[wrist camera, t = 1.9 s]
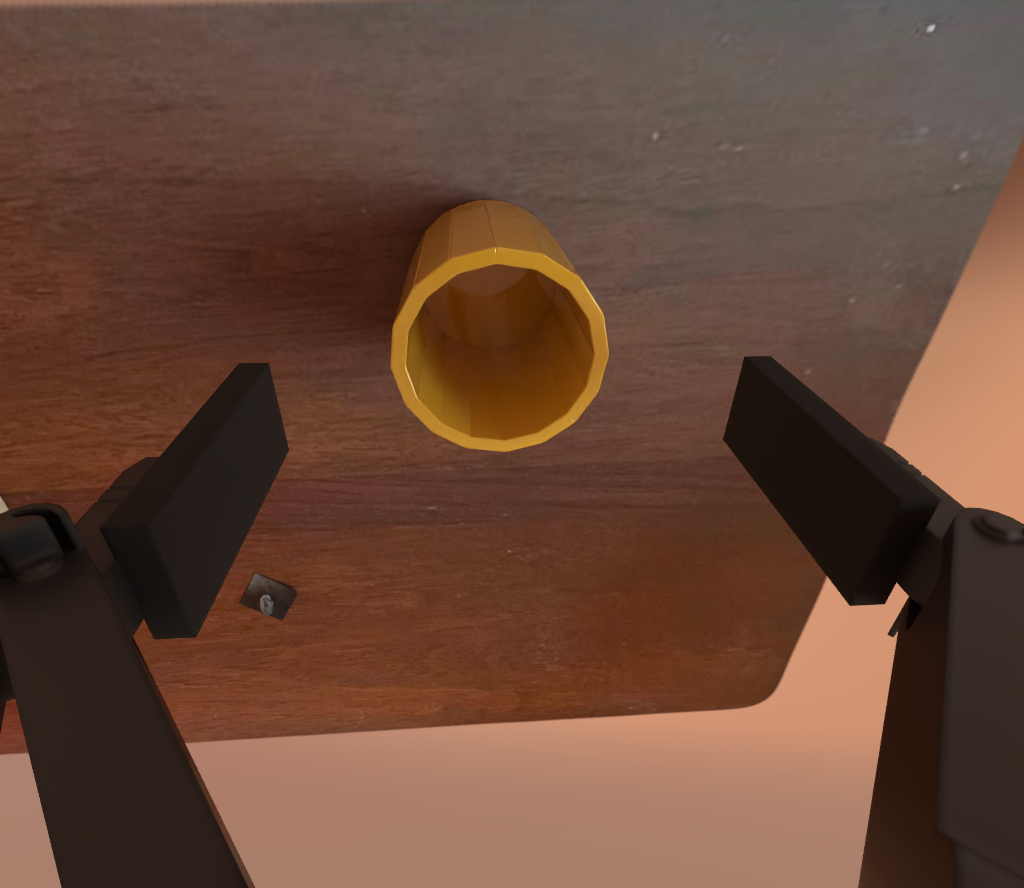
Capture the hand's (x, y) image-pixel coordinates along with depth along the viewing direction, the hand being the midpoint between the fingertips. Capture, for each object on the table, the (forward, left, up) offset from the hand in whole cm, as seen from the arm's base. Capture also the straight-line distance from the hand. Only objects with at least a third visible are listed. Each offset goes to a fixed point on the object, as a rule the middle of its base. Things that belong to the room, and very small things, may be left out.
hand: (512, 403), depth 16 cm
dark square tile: (+7, -23, -12) cm, 27 cm away
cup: (0, 0, -12) cm, 12 cm away
